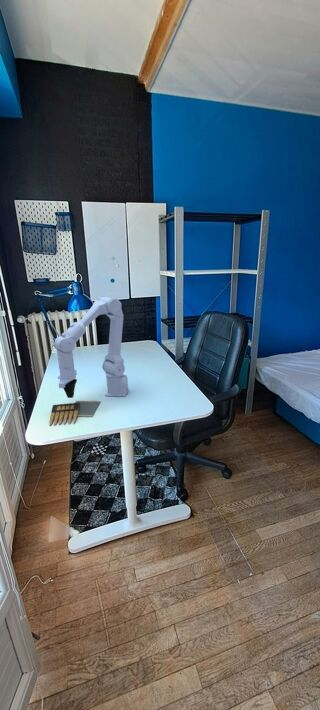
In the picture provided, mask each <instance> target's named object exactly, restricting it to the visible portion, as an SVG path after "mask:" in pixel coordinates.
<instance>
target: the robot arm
mask: <svg viewBox="0 0 320 710" xmlns="http://www.w3.org/2000/svg"><path fill="white" fill-rule="evenodd" d="M100 315H106V316H107V317H108V318H109V319H110V324H109V334H108V335H109V336H108V350H107V354H106V355H105V356H104V359H103V360H104V361H103V362H102V370H103V371H104V372H105V376H106V389H107V391H106V392H105V394H104V396H105V397H126V396H127V393H128V391H129V383H128V382H129V381H128V375H127V374H124V373H125V370H126V367H125V361H124V357H122V355H121V349H122V339H123V328H124V325H123V324H124V313H123V310H122V302H121V301H120V300H119V299H118V298H117V297H109V296H99V297H98V298H97V299H96V300H95V301H94V302H93V303H92V306H91V307H90V309H88V310H87V312H86V313H85V314H84V315H83V317H82V318H80V320H78V322H77V321H75V322H72V323H70V324H69V327H68V328H67V329H66V331H64V332H62V333H61V336H58V337H56V338H55V339H54V342H53V344H52V345H53V348H54V349H56V354H57V361H58V369H59V375H58V376H57V379H58V380H59V383H58V388H59V389H63V390H64V392H65V395H66V397H67V399H73V398H74V396H75V388H76V383H77V382H78V379H77V370H76V368H75V364H74V363H75V362H74V354H73V350H74V349H75V345H76V343H77V342H78V341H79V339H81V337H83V335H84V334H85V333H86V328H87V327H88V326H89V325H90V324H91V323H92V322H93V321H95V319H96V318H97V317H99V316H100Z"/></svg>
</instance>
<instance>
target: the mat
mask: <svg viewBox="0 0 320 710" xmlns="http://www.w3.org/2000/svg"><path fill="white" fill-rule="evenodd" d="M74 403H80V408H79V412H78V416H77V418H93V417H94V415H95V413H96V411H97V409H98V408H99V406H100V404H101V400H75V402H74ZM69 412H70V411H69ZM73 415H74V414H73ZM68 418H69V416H68Z"/></svg>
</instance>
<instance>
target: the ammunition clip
mask: <svg viewBox="0 0 320 710" xmlns="http://www.w3.org/2000/svg"><path fill="white" fill-rule="evenodd" d="M79 408H80V403H75V402H70V403H60V404H58V403H57V404H53V405H52V407H51V411H50V416H49V424H48V425H49V426H52V424H54V426H56V425H57V423H58V424H59V426H60V425H61V424H62V423H63V425H65V424H66V423H67V422H68V424H71V423H72V422H73V424H75V423H76V422H77V418H78V417H77V416H78V412H79ZM69 411H70V412H69ZM73 414H74V415H73ZM68 416H69V417H68Z"/></svg>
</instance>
